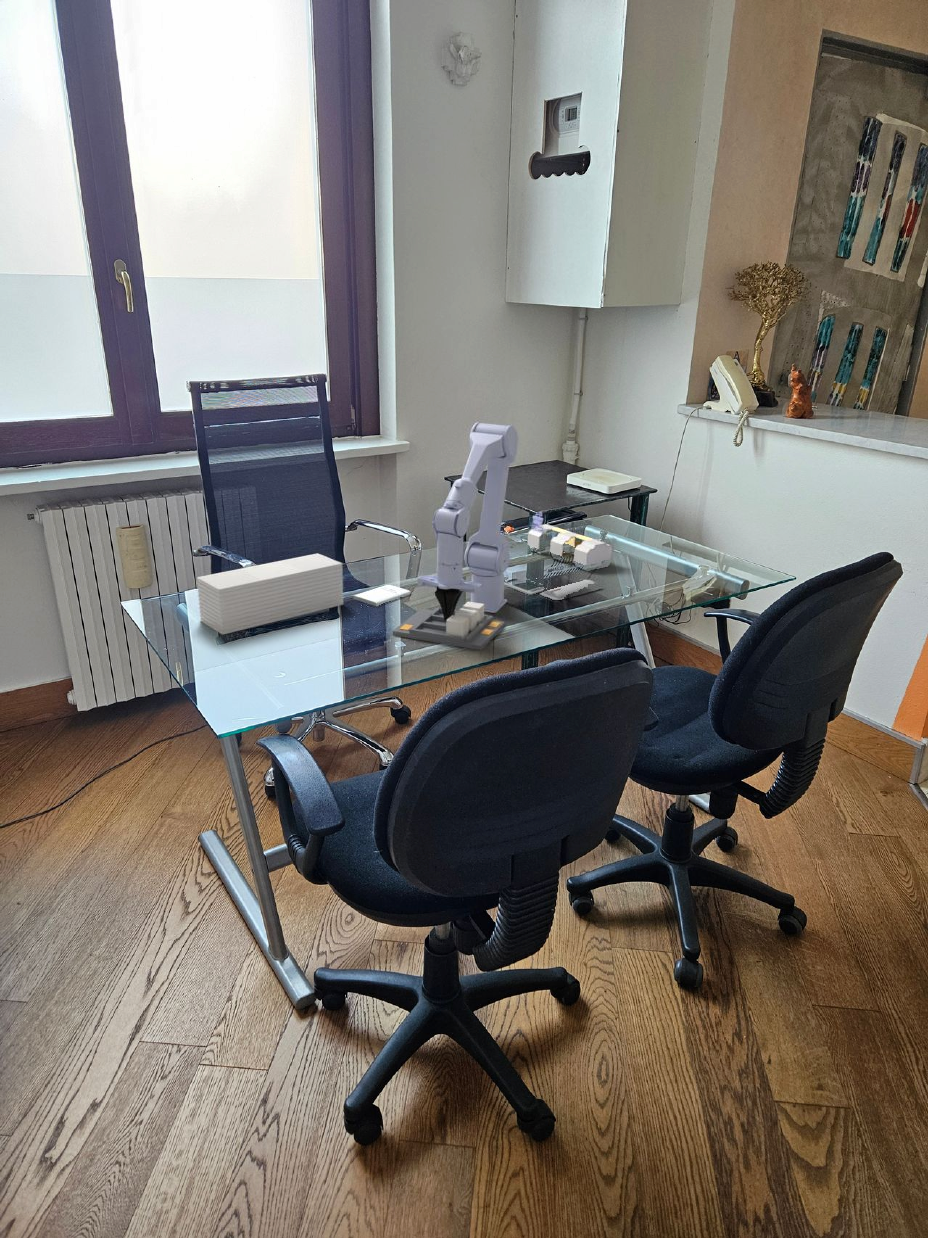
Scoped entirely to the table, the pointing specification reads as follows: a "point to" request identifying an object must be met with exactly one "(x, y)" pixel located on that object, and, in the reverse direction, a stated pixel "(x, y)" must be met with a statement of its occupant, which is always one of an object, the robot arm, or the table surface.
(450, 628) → the white block
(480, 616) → the white block
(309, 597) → the stack of papers
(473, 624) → the white block
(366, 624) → the table surface
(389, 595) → the external hard drive
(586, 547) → the diorama
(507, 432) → the robot arm
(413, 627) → the switch bank
